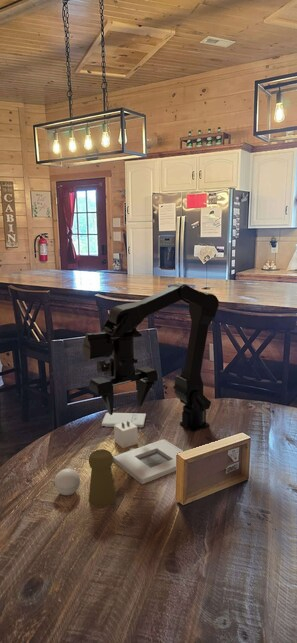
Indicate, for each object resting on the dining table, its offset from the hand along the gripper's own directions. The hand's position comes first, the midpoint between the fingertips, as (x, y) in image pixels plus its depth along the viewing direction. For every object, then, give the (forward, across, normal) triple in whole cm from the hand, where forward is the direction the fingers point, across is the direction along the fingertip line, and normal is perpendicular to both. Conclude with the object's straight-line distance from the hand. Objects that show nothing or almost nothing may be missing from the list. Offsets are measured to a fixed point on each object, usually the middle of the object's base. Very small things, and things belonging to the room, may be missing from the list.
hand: (125, 410), depth 121 cm
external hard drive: (+10, -7, -12) cm, 17 cm away
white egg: (+10, +24, +13) cm, 29 cm away
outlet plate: (+9, 0, +13) cm, 16 cm away
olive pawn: (+10, +18, +19) cm, 28 cm away
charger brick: (+10, 0, 0) cm, 10 cm away
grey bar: (+9, +6, +6) cm, 13 cm away
